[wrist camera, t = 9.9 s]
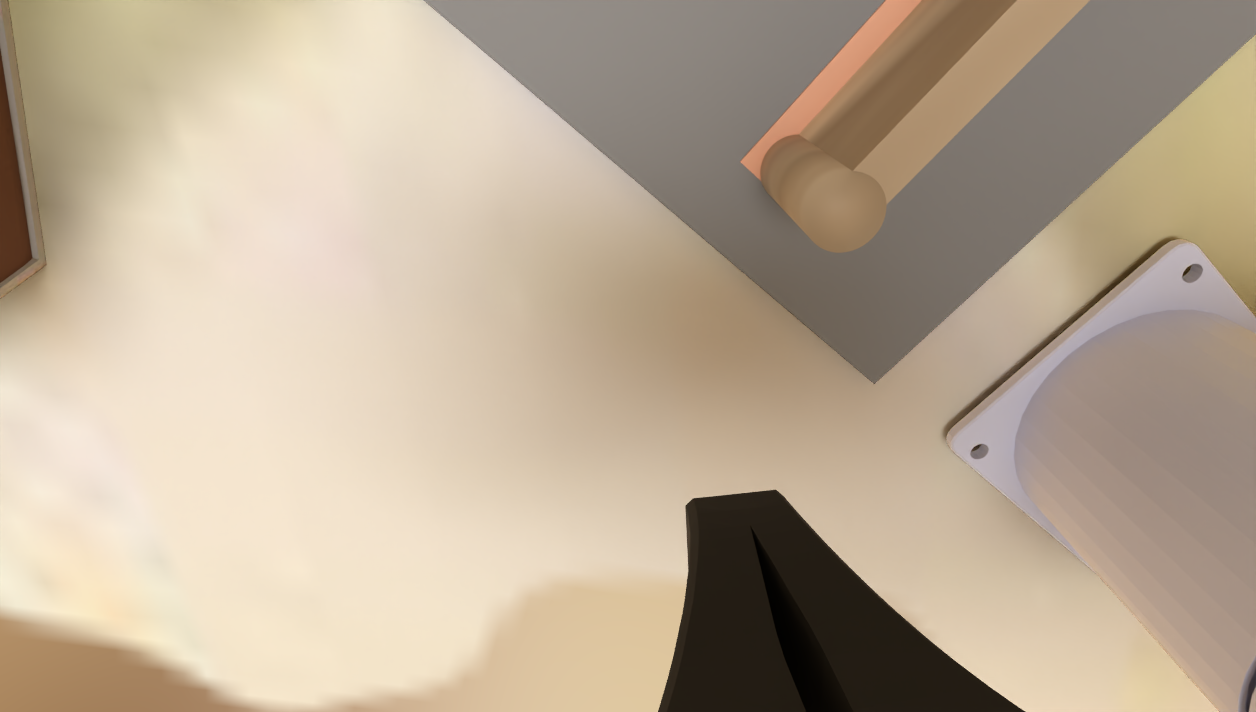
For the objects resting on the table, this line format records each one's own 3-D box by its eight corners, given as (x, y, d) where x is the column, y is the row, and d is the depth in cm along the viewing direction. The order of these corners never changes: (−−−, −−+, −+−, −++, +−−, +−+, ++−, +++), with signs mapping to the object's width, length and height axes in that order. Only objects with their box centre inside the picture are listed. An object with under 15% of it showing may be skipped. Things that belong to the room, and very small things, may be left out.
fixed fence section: (1178, -191, 15) (1360, -239, 12) (792, 215, 18) (845, 271, 15) (1137, -258, 15) (1315, -330, 11) (745, 172, 18) (790, 221, 14)
